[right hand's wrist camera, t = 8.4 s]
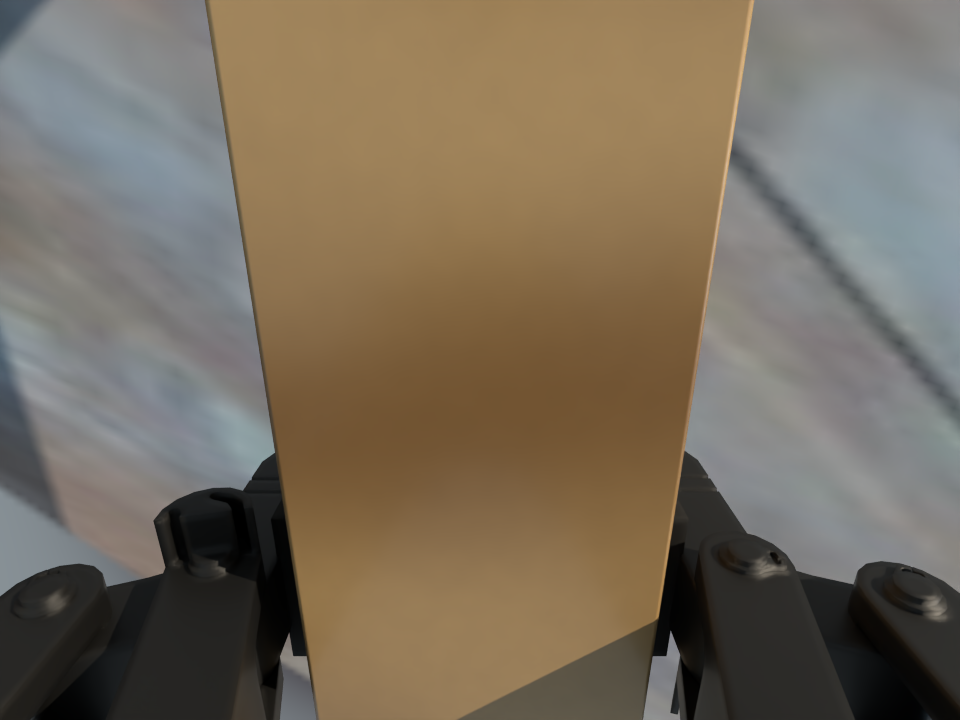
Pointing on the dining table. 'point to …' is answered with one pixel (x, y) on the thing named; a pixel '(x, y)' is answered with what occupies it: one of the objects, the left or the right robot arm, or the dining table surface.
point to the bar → (479, 329)
